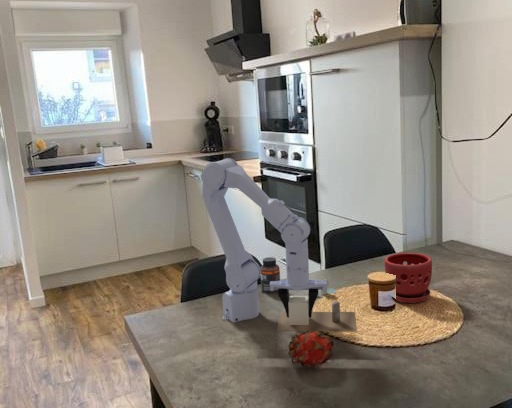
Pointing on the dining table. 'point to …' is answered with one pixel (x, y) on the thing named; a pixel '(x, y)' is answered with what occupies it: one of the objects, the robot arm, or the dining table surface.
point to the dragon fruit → (310, 348)
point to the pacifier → (327, 289)
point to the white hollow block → (298, 310)
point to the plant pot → (410, 276)
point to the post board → (322, 321)
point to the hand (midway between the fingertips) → (299, 315)
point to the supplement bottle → (269, 274)
